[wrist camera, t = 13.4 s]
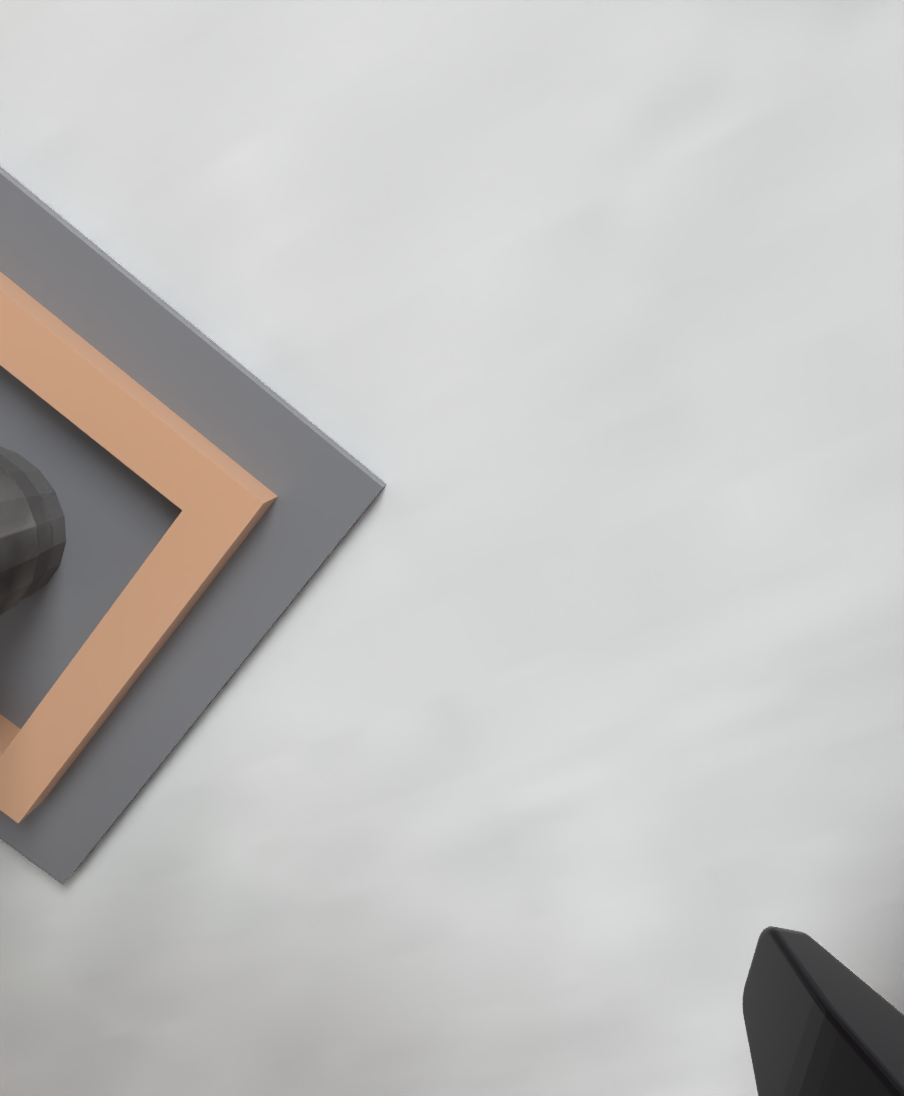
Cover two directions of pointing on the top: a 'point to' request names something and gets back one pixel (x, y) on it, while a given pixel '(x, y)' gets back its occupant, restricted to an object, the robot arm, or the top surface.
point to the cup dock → (137, 528)
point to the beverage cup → (27, 530)
